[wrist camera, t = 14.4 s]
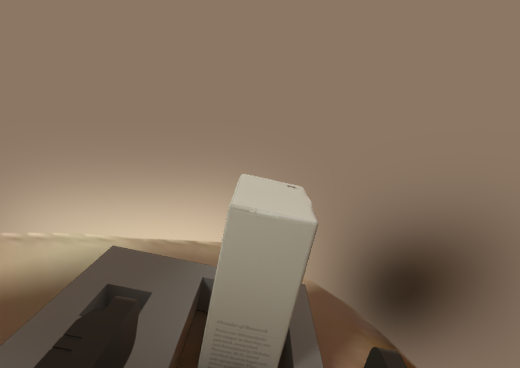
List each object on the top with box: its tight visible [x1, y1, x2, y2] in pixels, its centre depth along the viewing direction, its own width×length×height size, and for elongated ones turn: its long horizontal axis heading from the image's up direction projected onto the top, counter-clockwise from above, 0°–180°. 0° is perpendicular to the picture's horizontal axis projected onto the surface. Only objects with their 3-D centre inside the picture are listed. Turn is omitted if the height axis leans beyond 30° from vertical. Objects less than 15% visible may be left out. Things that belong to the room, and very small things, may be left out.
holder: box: [0, 246, 323, 368], centre depth 18 cm, size 16×12×3 cm
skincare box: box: [198, 174, 318, 368], centre depth 17 cm, size 6×4×12 cm
